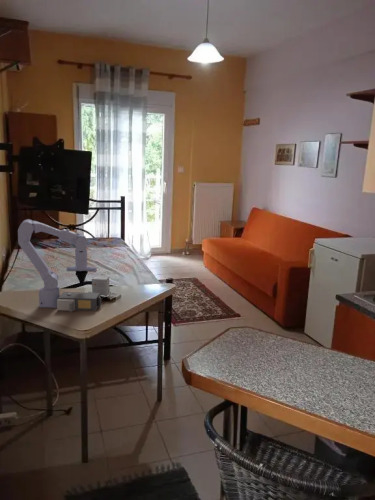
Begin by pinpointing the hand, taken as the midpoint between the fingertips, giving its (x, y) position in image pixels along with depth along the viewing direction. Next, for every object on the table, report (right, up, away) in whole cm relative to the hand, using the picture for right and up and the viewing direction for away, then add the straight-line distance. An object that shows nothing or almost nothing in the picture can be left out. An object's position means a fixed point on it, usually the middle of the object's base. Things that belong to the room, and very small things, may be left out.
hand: (82, 285), depth 203 cm
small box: (+7, -7, +13) cm, 16 cm away
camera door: (-5, -11, -10) cm, 16 cm away
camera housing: (0, -10, -4) cm, 11 cm away
